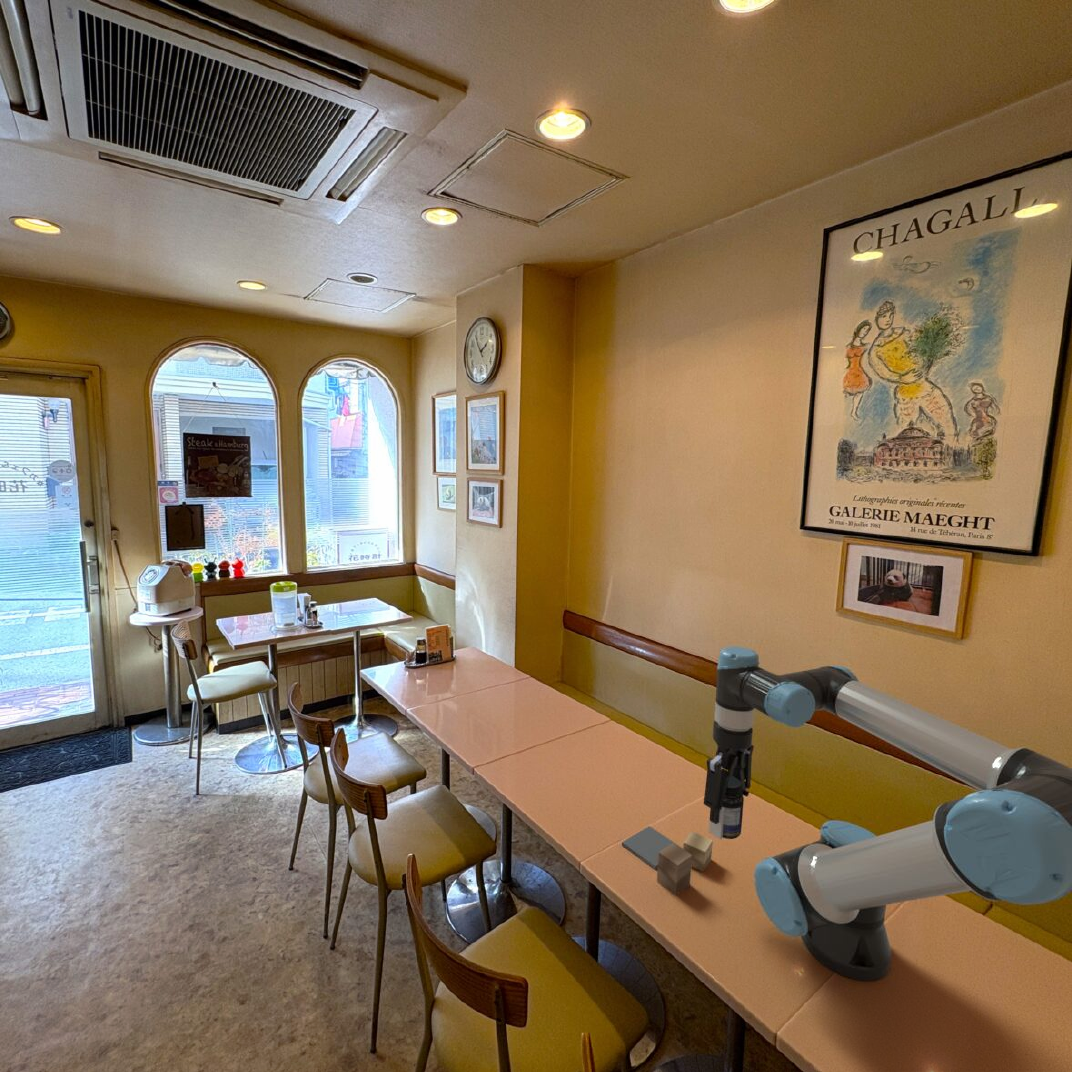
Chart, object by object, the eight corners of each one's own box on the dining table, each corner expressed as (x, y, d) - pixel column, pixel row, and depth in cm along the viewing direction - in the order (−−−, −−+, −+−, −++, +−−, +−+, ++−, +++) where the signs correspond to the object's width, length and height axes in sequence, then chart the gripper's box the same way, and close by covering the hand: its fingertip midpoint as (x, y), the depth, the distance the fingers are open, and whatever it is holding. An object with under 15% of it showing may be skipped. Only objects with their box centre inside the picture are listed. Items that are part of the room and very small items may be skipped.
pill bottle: (717, 817, 122) (720, 769, 121) (745, 829, 118) (749, 780, 117) (705, 831, 117) (709, 781, 116) (734, 844, 113) (738, 793, 112)
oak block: (711, 859, 131) (712, 840, 130) (703, 872, 127) (705, 852, 126) (690, 850, 134) (691, 831, 133) (682, 862, 130) (683, 842, 129)
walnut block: (689, 884, 123) (692, 855, 122) (675, 895, 120) (677, 865, 119) (671, 871, 127) (673, 842, 126) (656, 881, 123) (658, 852, 122)
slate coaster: (682, 851, 133) (682, 848, 133) (655, 869, 127) (655, 866, 127) (649, 828, 141) (649, 825, 141) (621, 845, 135) (621, 842, 134)
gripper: (742, 705, 124) (734, 803, 127) (689, 729, 112) (681, 837, 115) (774, 717, 118) (765, 820, 121) (722, 745, 106) (714, 858, 109)
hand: (724, 828), depth 118 cm, fingers closed on pill bottle, 6 cm apart
